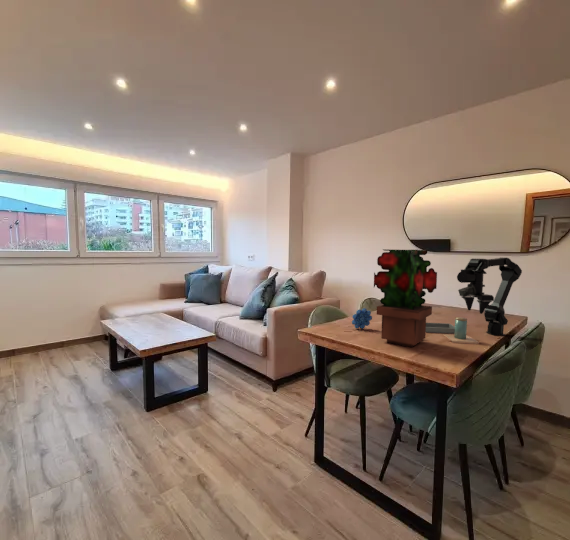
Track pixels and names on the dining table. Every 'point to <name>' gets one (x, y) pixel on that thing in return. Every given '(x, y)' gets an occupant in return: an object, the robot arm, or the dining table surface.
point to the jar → (460, 328)
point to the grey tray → (440, 328)
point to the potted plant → (404, 295)
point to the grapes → (361, 318)
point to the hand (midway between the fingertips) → (474, 311)
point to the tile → (455, 340)
